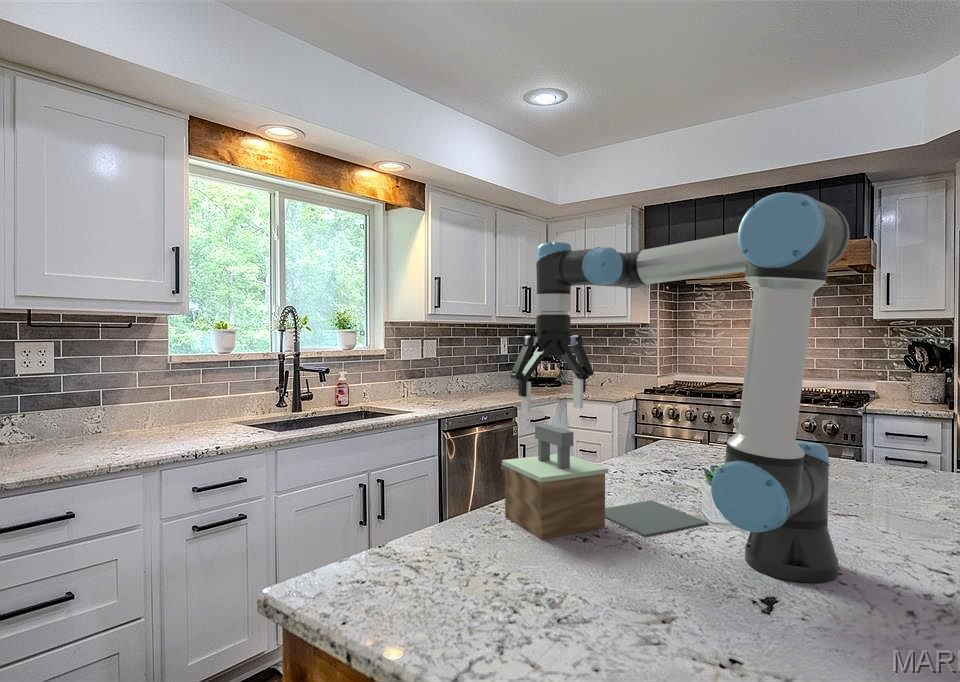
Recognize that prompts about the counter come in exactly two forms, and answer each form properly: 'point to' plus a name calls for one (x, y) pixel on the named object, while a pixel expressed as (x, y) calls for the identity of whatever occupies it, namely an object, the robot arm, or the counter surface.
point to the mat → (651, 518)
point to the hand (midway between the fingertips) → (552, 409)
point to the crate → (555, 504)
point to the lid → (553, 458)
